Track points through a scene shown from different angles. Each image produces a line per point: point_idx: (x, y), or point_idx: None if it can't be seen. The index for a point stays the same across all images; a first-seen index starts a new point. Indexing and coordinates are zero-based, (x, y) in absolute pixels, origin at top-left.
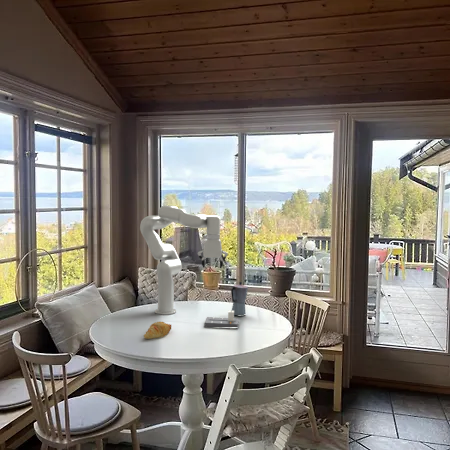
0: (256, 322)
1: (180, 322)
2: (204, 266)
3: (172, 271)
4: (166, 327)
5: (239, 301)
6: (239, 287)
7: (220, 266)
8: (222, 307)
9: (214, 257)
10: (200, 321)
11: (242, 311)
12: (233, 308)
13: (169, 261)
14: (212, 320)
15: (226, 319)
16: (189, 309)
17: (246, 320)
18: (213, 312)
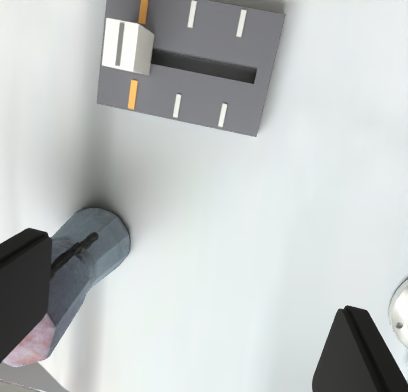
0: (26, 109)
1: (397, 118)
2: (330, 346)
3: None
4: None
5: (60, 242)
6: None
7: (23, 240)
8: (158, 363)
9: (18, 384)
10: (288, 134)
11: (71, 219)
12: (108, 240)
13: None
14: (234, 63)
15: (159, 84)
16: (312, 347)
17: (68, 145)
18: (206, 288)
